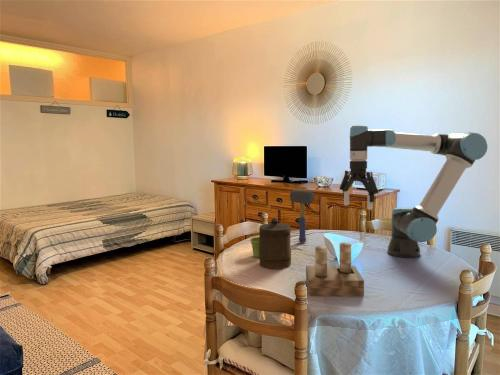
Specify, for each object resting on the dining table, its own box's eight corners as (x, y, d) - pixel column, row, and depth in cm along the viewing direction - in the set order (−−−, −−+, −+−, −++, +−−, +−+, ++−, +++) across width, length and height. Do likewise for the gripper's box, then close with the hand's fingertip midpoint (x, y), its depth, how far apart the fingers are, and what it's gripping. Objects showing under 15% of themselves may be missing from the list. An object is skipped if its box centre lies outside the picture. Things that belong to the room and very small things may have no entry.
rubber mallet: (315, 242, 210) (315, 189, 206) (309, 245, 204) (308, 191, 200) (296, 239, 217) (295, 188, 213) (289, 242, 211) (288, 190, 207)
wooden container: (297, 263, 177) (296, 217, 174) (278, 271, 166) (277, 223, 163) (272, 257, 186) (271, 213, 184) (253, 265, 175) (251, 219, 173)
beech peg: (350, 276, 150) (350, 242, 148) (352, 280, 145) (352, 245, 143) (338, 276, 150) (338, 242, 148) (340, 280, 146) (340, 245, 144)
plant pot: (272, 257, 186) (271, 240, 185) (254, 260, 182) (254, 242, 181) (264, 252, 194) (264, 236, 193) (247, 254, 191) (247, 238, 190)
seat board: (355, 279, 154) (355, 239, 151) (363, 296, 138) (364, 251, 136) (306, 279, 155) (305, 240, 153) (309, 295, 139) (308, 251, 137)
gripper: (332, 159, 175) (332, 204, 178) (375, 161, 154) (374, 212, 157) (343, 159, 179) (343, 202, 182) (387, 160, 158) (386, 209, 161)
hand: (357, 207), depth 170 cm, fingers open, 13 cm apart
